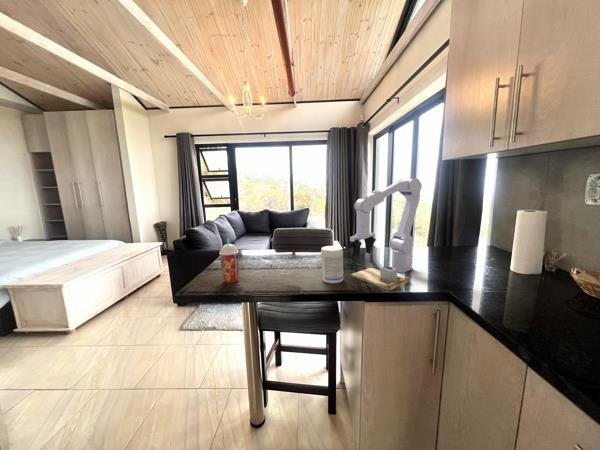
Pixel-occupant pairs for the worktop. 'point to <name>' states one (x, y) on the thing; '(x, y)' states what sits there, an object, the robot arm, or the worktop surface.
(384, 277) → the cabinet block
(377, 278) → the wall board
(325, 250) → the supplement tub
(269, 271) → the worktop surface
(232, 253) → the smoothie
